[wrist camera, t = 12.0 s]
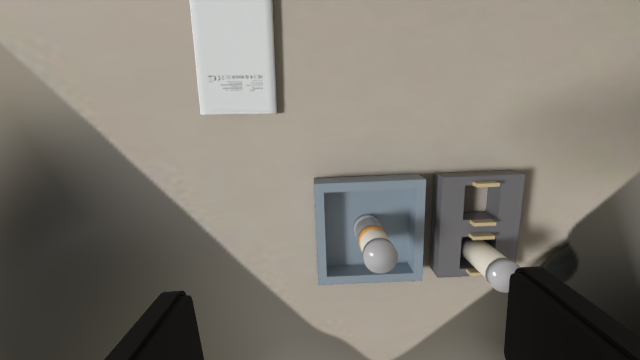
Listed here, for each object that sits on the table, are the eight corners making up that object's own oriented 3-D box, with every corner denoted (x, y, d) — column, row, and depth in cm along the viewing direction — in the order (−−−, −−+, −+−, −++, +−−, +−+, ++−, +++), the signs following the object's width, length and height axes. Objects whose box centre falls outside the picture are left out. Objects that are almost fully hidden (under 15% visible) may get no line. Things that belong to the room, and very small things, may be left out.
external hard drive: (272, -10, 31) (277, 113, 34) (193, -9, 31) (204, 114, 34) (270, -16, 30) (276, 113, 32) (186, -16, 30) (198, 114, 32)
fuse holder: (510, 169, 35) (531, 176, 32) (501, 263, 38) (519, 278, 35) (434, 173, 35) (446, 179, 32) (429, 266, 38) (441, 282, 35)
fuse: (481, 230, 37) (525, 262, 29) (479, 254, 38) (521, 291, 30) (454, 231, 37) (492, 263, 29) (453, 255, 38) (489, 293, 30)
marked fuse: (380, 213, 36) (398, 241, 28) (380, 238, 36) (397, 272, 29) (353, 214, 36) (363, 242, 28) (353, 239, 36) (364, 274, 29)
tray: (417, 173, 35) (426, 179, 32) (413, 267, 38) (422, 280, 35) (314, 178, 35) (313, 184, 32) (318, 271, 38) (318, 285, 35)
